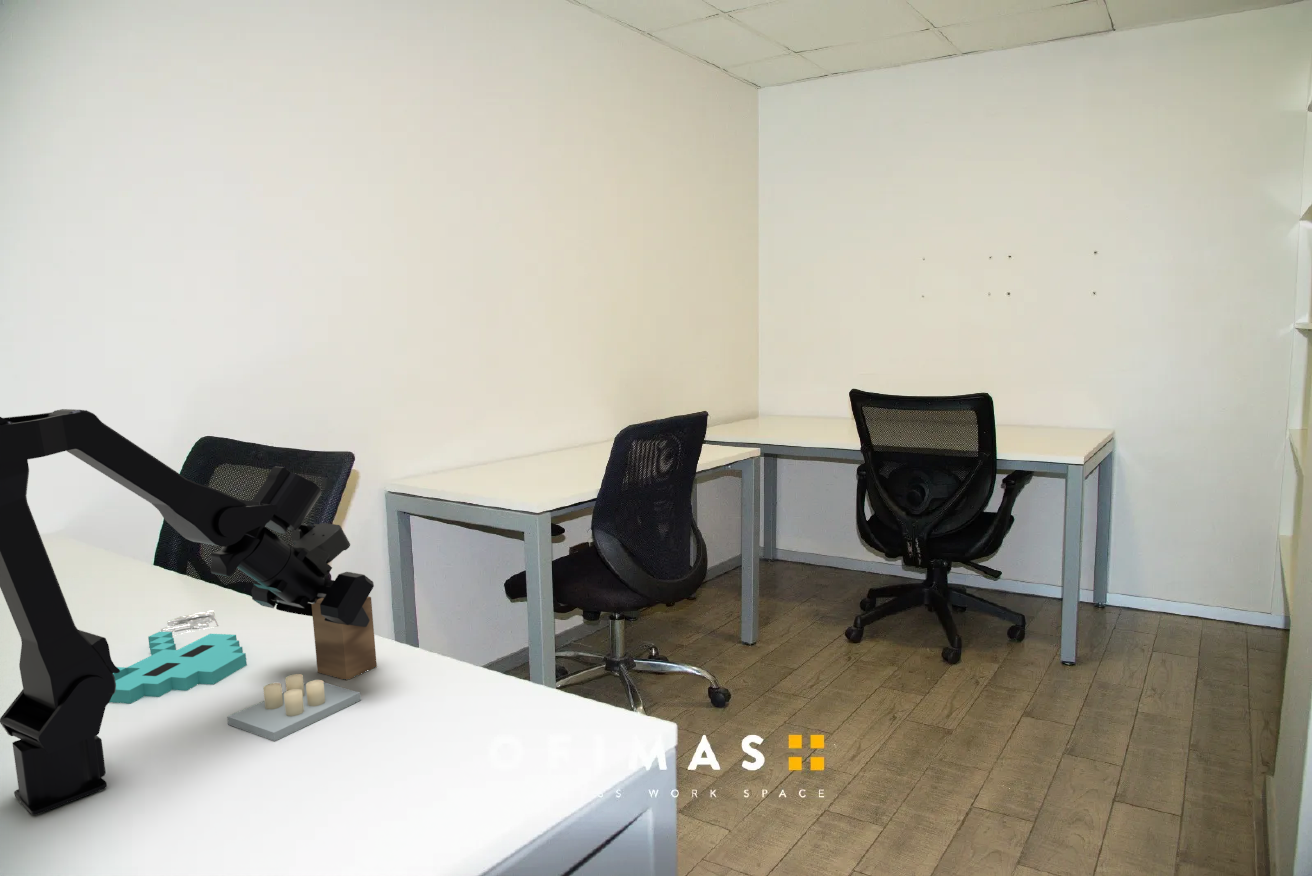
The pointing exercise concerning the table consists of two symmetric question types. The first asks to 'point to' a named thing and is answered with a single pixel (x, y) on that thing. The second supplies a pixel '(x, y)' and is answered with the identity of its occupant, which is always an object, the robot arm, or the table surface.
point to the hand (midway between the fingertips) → (351, 620)
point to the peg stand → (292, 707)
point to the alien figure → (178, 666)
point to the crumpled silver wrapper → (192, 621)
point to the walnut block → (343, 645)
